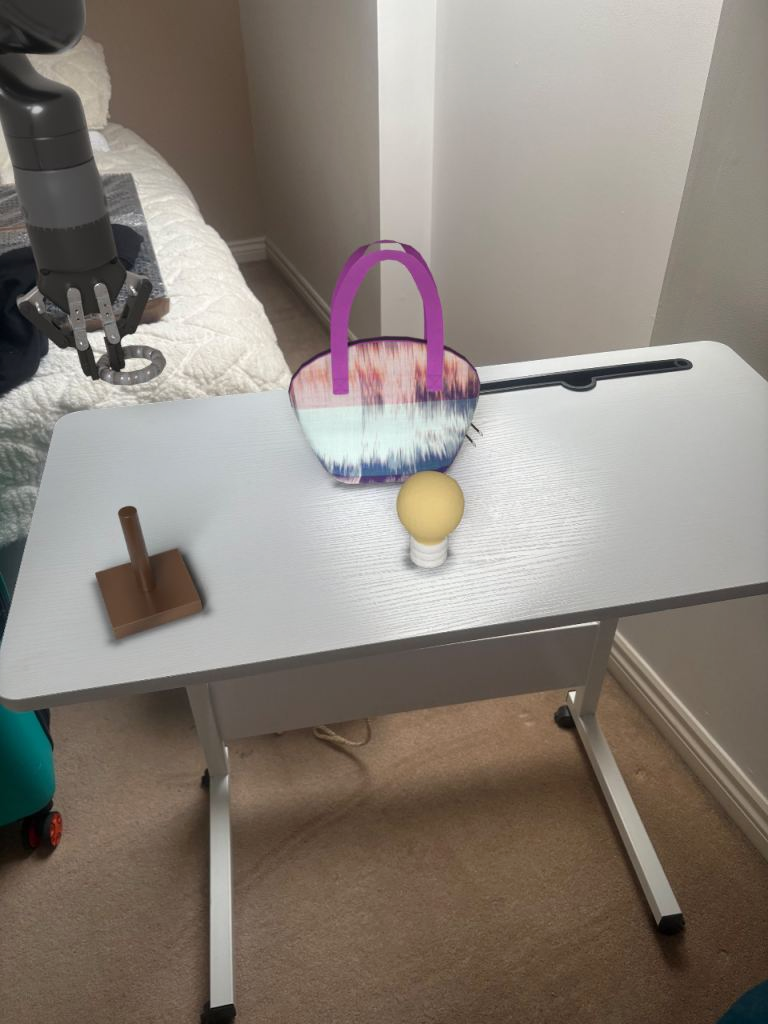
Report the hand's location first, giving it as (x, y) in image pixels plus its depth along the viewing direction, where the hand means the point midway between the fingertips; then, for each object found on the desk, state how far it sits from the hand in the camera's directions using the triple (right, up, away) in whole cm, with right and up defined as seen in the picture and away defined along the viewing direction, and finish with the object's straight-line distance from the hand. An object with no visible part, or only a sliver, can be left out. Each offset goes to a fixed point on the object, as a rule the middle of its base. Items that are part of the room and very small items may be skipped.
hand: (105, 374), depth 88 cm
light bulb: (+34, -19, -6) cm, 40 cm away
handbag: (+30, -9, +7) cm, 32 cm away
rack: (+7, -23, -10) cm, 26 cm away
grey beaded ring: (+2, +1, +1) cm, 3 cm away
